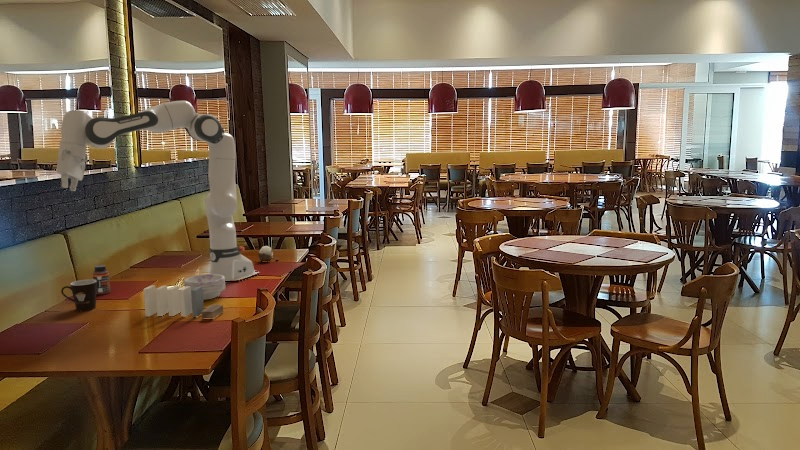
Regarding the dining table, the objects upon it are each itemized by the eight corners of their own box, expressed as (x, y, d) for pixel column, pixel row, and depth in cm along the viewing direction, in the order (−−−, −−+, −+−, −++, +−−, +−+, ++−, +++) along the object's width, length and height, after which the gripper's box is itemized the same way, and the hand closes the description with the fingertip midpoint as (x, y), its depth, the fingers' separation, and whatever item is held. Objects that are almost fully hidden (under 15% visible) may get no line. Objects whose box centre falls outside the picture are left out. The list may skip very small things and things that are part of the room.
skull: (256, 256, 307) (269, 241, 305) (271, 269, 307) (284, 255, 305) (248, 260, 295) (261, 245, 293) (264, 274, 295) (277, 259, 293)
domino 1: (145, 316, 212) (143, 288, 210) (153, 312, 217) (151, 285, 215) (149, 316, 212) (147, 289, 210) (157, 312, 217) (155, 285, 215)
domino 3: (169, 317, 211) (166, 289, 209) (176, 312, 215) (174, 285, 214) (173, 317, 210) (171, 289, 209) (180, 313, 215) (178, 286, 214)
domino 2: (157, 316, 211) (155, 289, 210) (165, 312, 216) (162, 285, 215) (161, 316, 211) (159, 289, 209) (169, 312, 216) (167, 285, 214)
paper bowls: (214, 290, 246) (213, 271, 244) (233, 297, 235) (232, 277, 234) (178, 297, 235) (177, 278, 234) (196, 305, 224) (195, 284, 223)
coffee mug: (104, 306, 225) (101, 280, 223) (85, 312, 217) (83, 286, 215) (80, 303, 229) (77, 278, 227) (61, 310, 221) (58, 283, 219)
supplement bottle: (104, 295, 240) (101, 267, 238) (91, 294, 241) (88, 267, 239) (113, 291, 246) (111, 264, 244) (101, 290, 247) (98, 264, 245)
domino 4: (181, 317, 210) (179, 290, 208) (188, 313, 215) (186, 286, 213) (185, 317, 210) (183, 290, 208) (192, 313, 215) (190, 286, 213)
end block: (202, 319, 207) (201, 311, 207) (212, 312, 215) (212, 304, 214) (213, 320, 206) (212, 311, 206) (223, 313, 214) (222, 305, 214)
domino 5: (193, 318, 209) (191, 290, 208) (199, 313, 214) (198, 286, 212) (197, 318, 209) (195, 290, 207) (204, 313, 214) (202, 286, 212)
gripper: (73, 148, 216) (69, 186, 215) (88, 158, 236) (85, 193, 235) (53, 146, 215) (49, 185, 214) (71, 156, 235) (67, 191, 234)
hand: (68, 189), depth 225 cm, fingers open, 8 cm apart
